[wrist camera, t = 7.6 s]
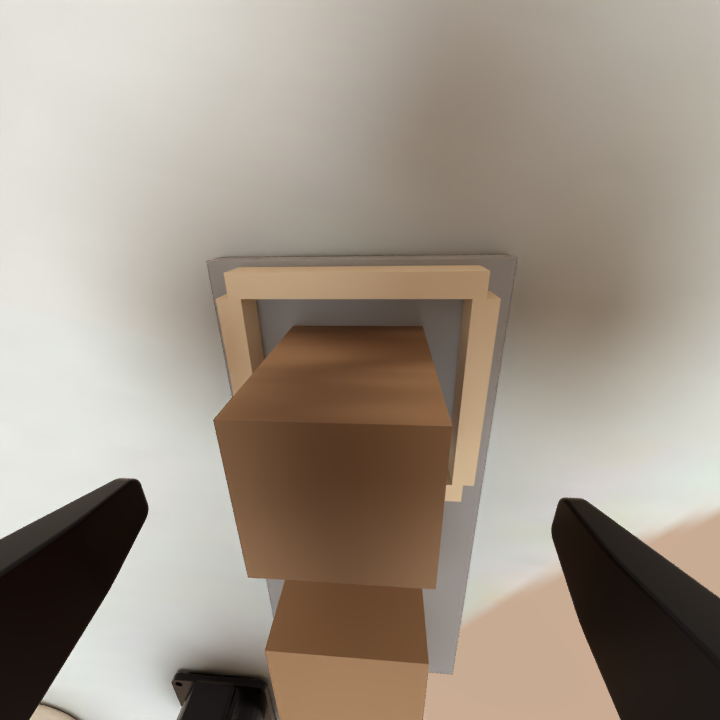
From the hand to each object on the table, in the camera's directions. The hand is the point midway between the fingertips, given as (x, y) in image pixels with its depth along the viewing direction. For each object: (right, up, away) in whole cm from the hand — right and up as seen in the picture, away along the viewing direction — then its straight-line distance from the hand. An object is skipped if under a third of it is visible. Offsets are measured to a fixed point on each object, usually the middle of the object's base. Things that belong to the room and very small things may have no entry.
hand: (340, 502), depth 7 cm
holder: (+1, -4, +9) cm, 10 cm away
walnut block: (0, +2, +5) cm, 6 cm away
